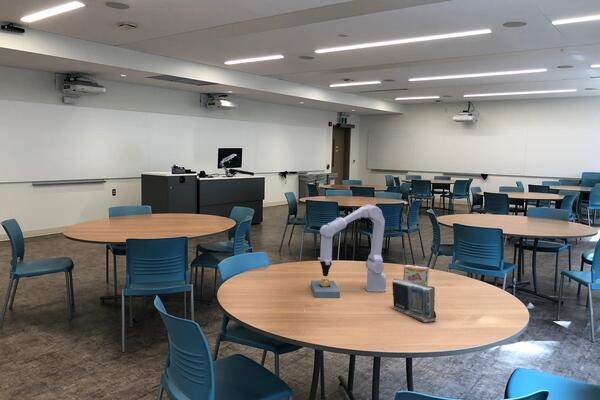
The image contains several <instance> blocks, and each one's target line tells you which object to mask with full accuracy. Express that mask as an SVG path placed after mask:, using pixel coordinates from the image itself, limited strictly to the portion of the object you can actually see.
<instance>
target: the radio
mask: <svg viewBox="0 0 600 400" xmlns="http://www.w3.org/2000/svg"><path fill="white" fill-rule="evenodd" d="M391 286H392V287H391V288H392V296H393V299H392V300H393V301H392V302H393V306H391V307H390V308H391V309H393V310H395V311H397V312H399V313H402V314H404V315H407V316H409V317H411V318H413V319H415V320H418V321H420V322H422V323H429V322H434V321H437V319H436V318H437V313H436V310H435V302H436V301H435V295H436V294H435V293H436V290H435V286H429V285H428V286H424V285H419V284H417V283H414V282H409V281H405V280H403V279H401V278H393V280H392V285H391Z"/></svg>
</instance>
